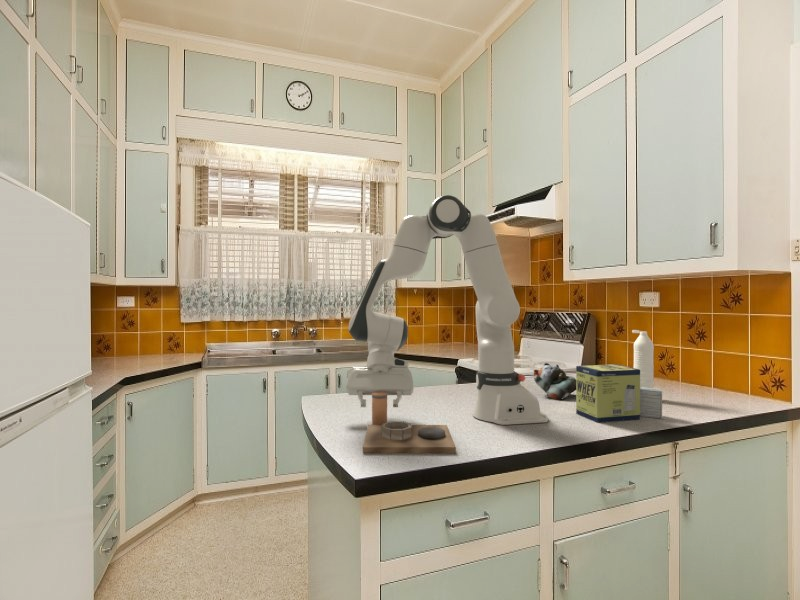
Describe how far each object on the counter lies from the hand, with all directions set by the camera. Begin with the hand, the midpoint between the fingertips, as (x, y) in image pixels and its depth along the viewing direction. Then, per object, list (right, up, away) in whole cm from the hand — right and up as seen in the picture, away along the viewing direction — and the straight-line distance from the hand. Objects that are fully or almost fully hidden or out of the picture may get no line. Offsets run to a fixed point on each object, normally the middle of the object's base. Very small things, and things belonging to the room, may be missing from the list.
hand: (379, 406), depth 125 cm
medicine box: (+84, -6, +10) cm, 85 cm away
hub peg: (0, -5, +1) cm, 5 cm away
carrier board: (+8, -5, -14) cm, 17 cm away
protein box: (+71, -6, +9) cm, 72 cm away
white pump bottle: (+96, -6, +34) cm, 102 cm away
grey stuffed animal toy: (+65, -6, +37) cm, 75 cm away
